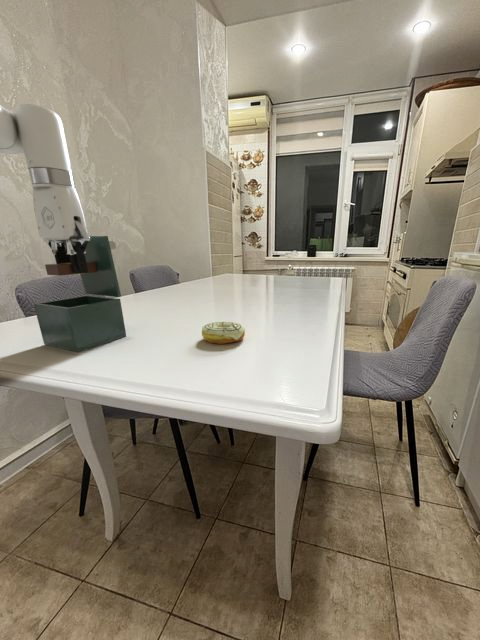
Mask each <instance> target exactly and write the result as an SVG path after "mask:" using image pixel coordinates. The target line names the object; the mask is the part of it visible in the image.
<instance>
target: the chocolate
mask: <svg viewBox="0 0 480 640" xmlns="http://www.w3.org/2000/svg"><path fill="white" fill-rule="evenodd" d="M86 264H87V269H88V273H93V272H97V268H96V263H94V262H86ZM44 266H45V271H46V274H47V276H58V277H59V276H70V275H72V276H73V275H75V274H74V273H73V270H72V266H71V263H60V264H56V263H48V264H47V263H45V264H44ZM81 274H83V273H81Z"/></svg>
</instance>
